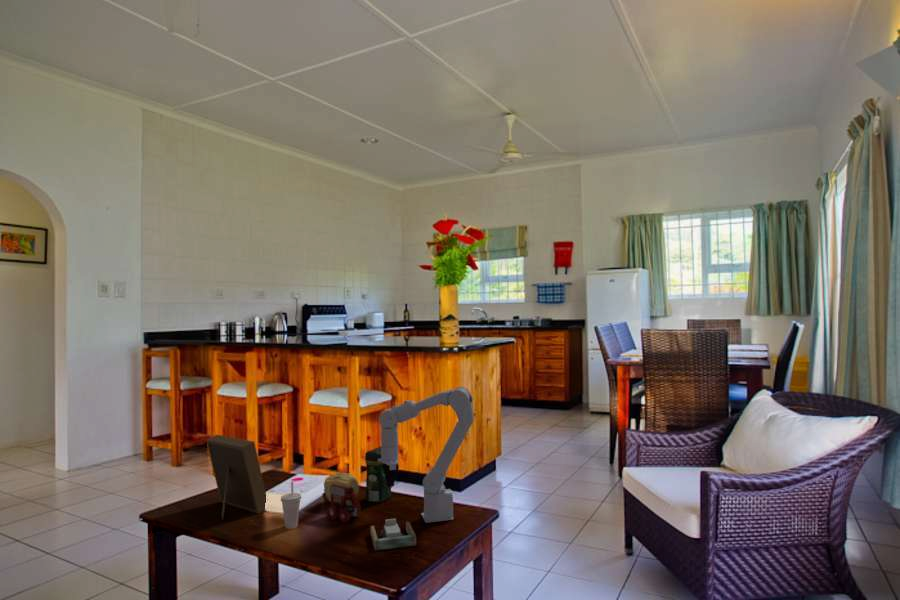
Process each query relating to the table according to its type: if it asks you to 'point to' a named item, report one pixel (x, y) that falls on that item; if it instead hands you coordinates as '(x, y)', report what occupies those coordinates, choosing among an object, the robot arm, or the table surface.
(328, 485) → the sculpture
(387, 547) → the bay
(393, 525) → the grey knobbed block
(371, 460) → the coffee jar
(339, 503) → the red toy race car
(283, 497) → the smoothie
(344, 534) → the table surface
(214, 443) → the photo frame
